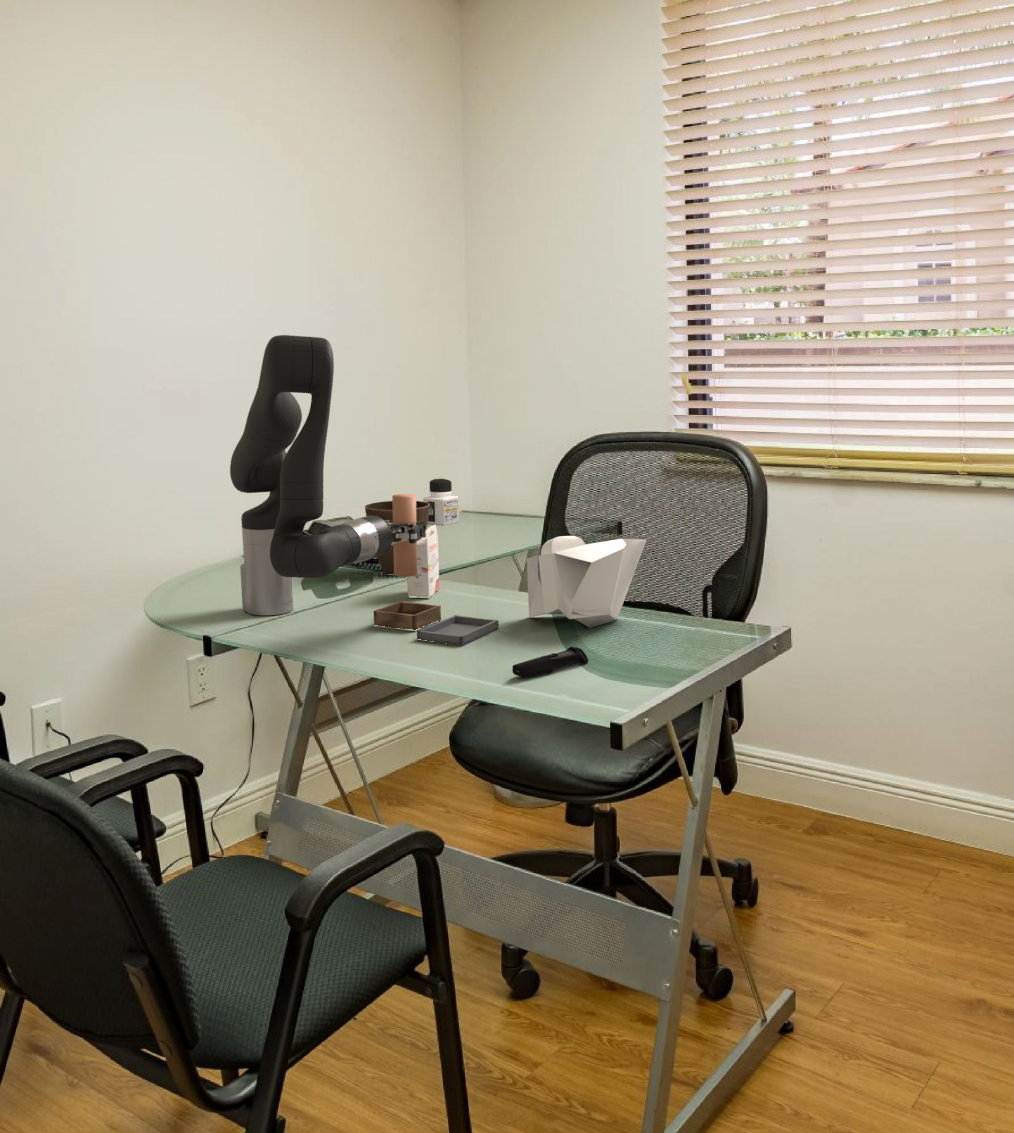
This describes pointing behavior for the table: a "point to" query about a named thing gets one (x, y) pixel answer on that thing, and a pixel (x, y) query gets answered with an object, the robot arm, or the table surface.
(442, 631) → the desk tray
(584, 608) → the folded paper
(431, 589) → the ink cartridge box
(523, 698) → the table surface
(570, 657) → the electric trimmer
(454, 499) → the container
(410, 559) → the dowel
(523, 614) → the table surface
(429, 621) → the wooden square frame
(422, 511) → the plant pot
